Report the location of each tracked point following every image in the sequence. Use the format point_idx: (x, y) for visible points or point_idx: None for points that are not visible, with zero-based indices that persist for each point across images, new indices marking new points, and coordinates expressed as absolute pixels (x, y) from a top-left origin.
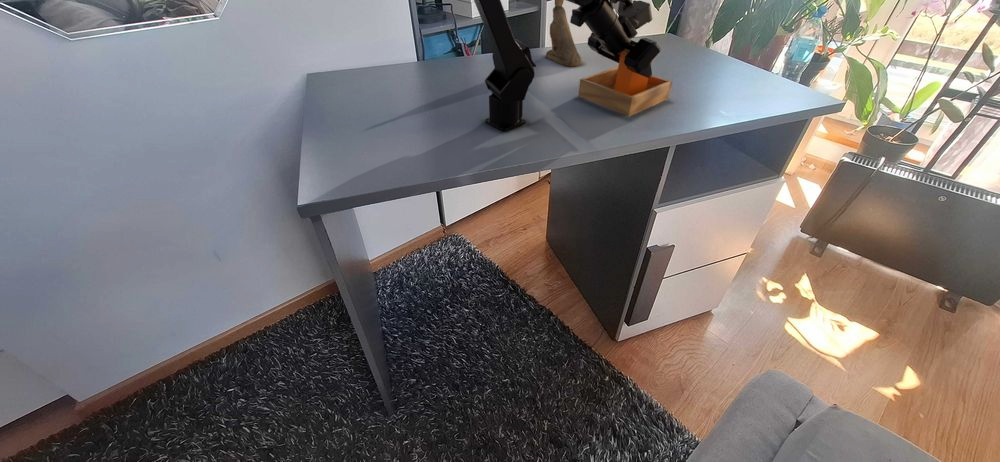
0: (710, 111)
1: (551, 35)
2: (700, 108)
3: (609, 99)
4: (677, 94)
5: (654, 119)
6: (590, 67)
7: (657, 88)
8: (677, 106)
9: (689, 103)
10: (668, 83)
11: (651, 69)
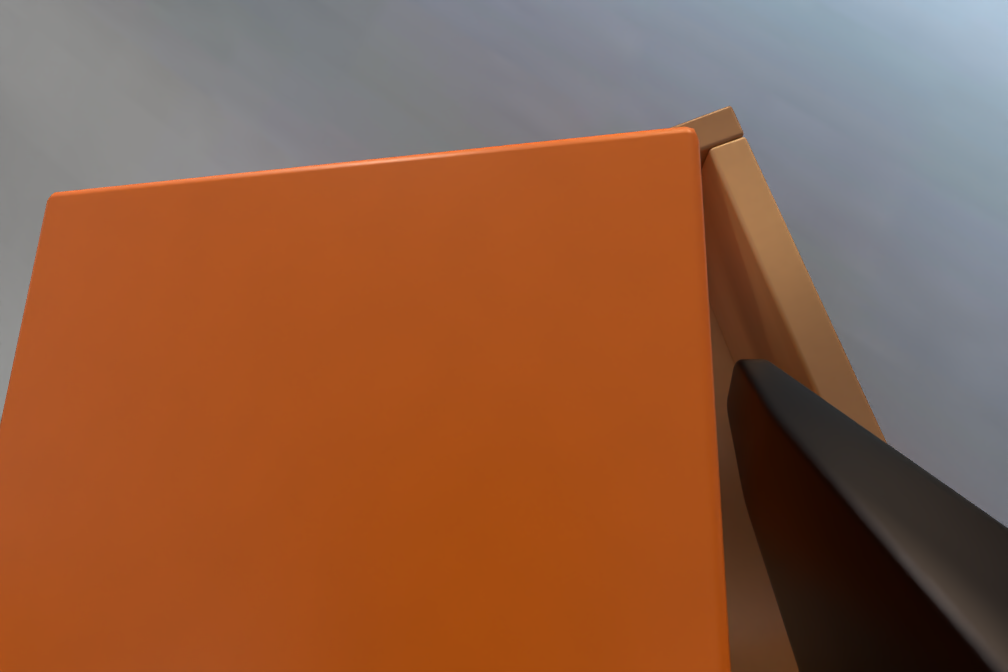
0: (952, 20)
1: None
2: (875, 55)
3: None
4: (595, 70)
5: (965, 495)
6: (10, 330)
7: (842, 353)
8: (783, 181)
9: (764, 78)
10: (758, 168)
11: (851, 419)
